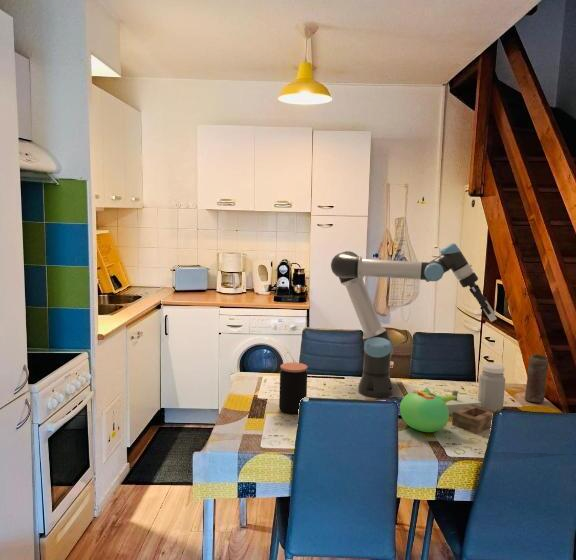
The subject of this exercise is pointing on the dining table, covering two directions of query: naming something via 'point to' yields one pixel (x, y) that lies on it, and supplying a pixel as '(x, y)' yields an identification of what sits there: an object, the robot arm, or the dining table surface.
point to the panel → (461, 402)
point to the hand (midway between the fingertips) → (492, 317)
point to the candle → (536, 378)
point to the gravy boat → (425, 410)
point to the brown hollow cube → (472, 418)
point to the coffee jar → (292, 387)
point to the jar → (491, 387)
